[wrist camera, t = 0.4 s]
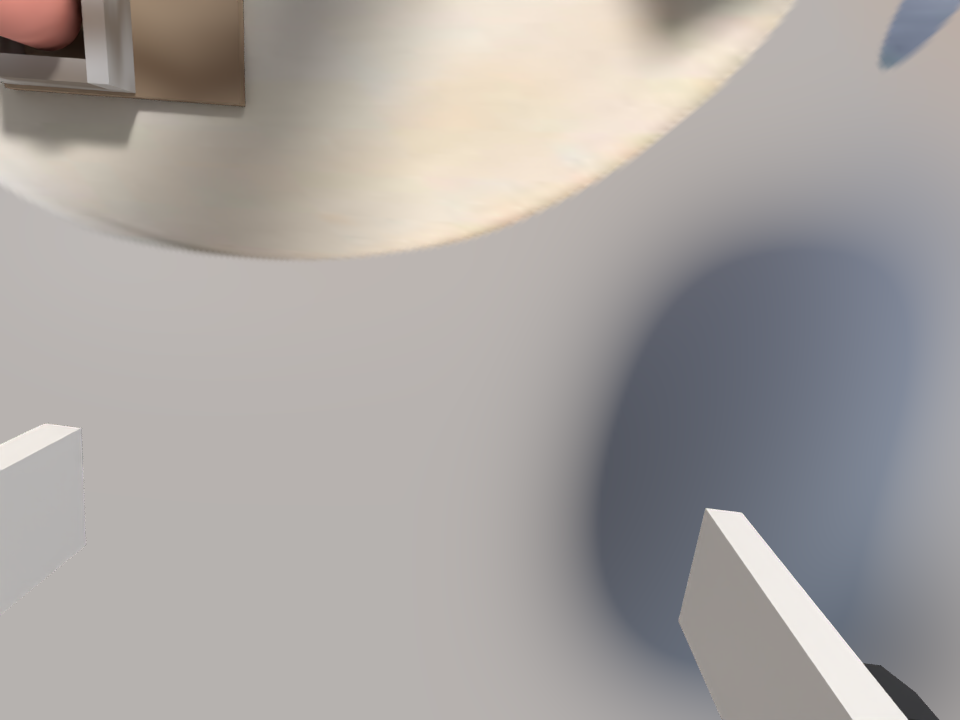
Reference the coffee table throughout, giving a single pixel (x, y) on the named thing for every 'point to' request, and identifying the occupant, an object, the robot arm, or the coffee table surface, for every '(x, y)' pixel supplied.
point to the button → (41, 22)
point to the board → (141, 53)
